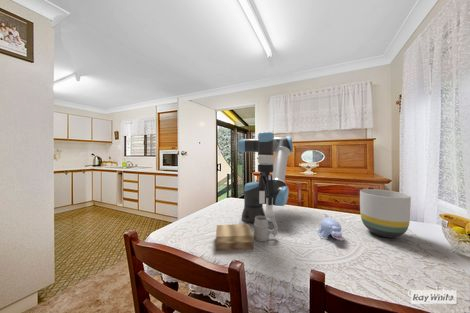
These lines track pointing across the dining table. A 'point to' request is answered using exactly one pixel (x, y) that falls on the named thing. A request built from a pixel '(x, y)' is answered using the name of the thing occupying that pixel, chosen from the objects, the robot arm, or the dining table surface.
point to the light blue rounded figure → (330, 229)
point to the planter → (385, 212)
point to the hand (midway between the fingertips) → (265, 207)
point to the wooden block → (234, 237)
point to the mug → (264, 228)
